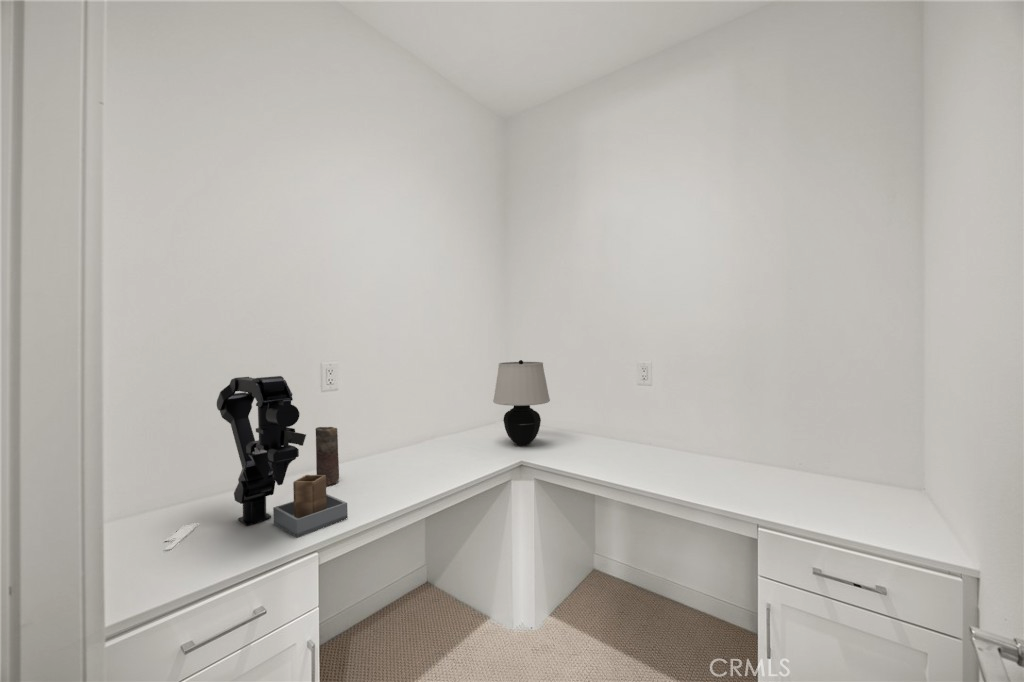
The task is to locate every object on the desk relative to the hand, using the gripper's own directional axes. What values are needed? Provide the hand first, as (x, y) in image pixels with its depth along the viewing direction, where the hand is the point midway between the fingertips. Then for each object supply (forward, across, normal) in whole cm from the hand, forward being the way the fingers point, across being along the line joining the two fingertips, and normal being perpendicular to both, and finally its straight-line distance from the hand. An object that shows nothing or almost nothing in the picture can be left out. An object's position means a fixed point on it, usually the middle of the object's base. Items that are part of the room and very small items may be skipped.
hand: (272, 481), depth 112 cm
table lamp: (+13, 0, -110) cm, 111 cm away
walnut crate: (+12, -2, -9) cm, 15 cm away
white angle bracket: (+13, +17, +17) cm, 28 cm away
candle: (+13, +24, -28) cm, 39 cm away
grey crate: (+13, -2, -9) cm, 16 cm away
